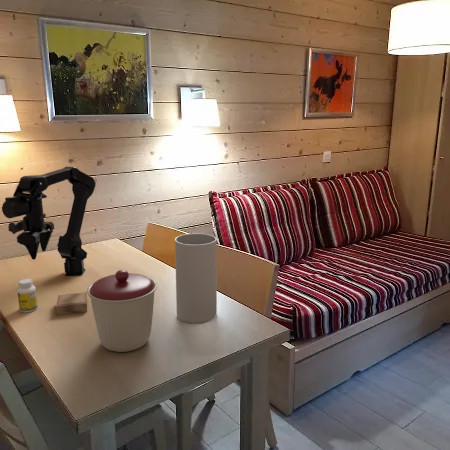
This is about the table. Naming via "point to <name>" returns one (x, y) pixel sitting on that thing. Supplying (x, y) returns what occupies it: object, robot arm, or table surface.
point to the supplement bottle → (27, 296)
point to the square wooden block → (71, 303)
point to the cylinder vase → (196, 277)
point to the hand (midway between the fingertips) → (39, 255)
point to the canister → (123, 310)
